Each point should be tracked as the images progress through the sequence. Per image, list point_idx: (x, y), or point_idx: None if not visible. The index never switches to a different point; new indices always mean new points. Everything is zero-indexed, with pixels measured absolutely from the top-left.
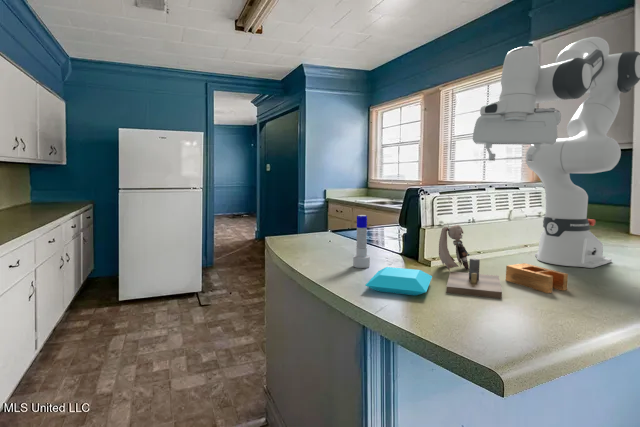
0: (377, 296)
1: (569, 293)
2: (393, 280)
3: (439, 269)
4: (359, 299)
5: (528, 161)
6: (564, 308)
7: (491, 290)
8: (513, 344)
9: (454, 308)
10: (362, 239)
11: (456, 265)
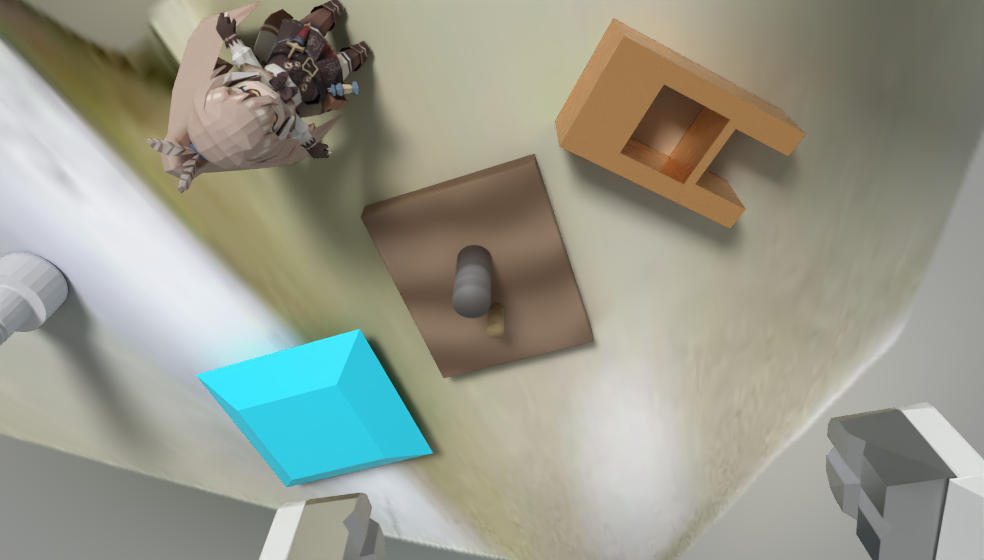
0: None
1: None
2: (338, 471)
3: None
4: None
5: (838, 441)
6: (754, 309)
7: (563, 343)
8: (659, 521)
9: (514, 445)
10: None
11: (332, 124)
